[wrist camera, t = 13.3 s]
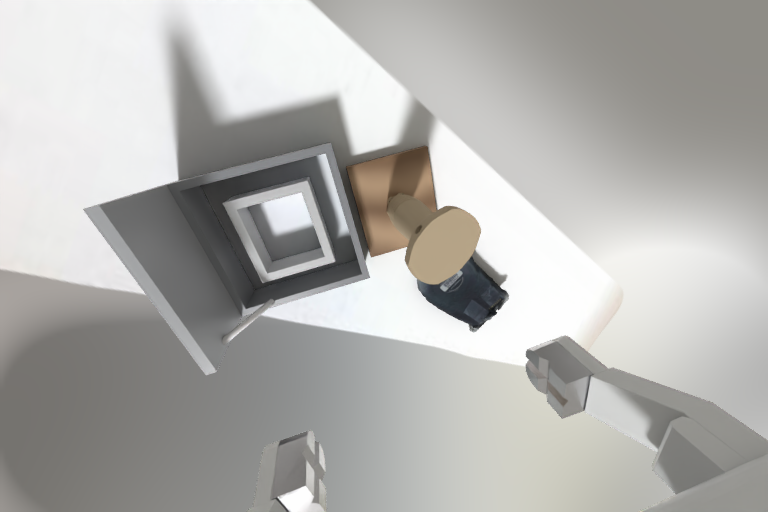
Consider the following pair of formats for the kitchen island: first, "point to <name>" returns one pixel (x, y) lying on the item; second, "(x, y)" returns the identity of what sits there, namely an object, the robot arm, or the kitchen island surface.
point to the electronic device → (466, 295)
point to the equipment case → (219, 253)
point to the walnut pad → (389, 194)
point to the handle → (434, 237)
